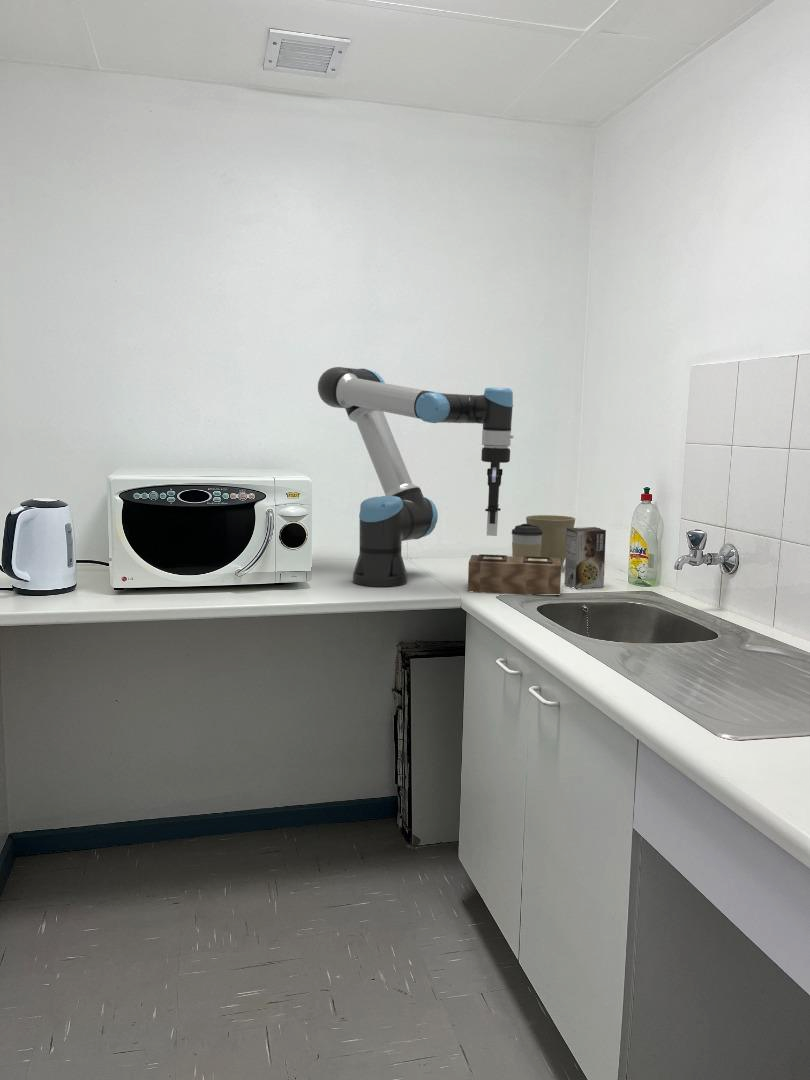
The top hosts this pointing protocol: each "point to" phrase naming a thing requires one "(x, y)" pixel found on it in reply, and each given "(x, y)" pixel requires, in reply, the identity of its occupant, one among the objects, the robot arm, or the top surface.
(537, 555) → the coffee cup
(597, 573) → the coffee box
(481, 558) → the walnut block
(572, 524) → the plant pot
